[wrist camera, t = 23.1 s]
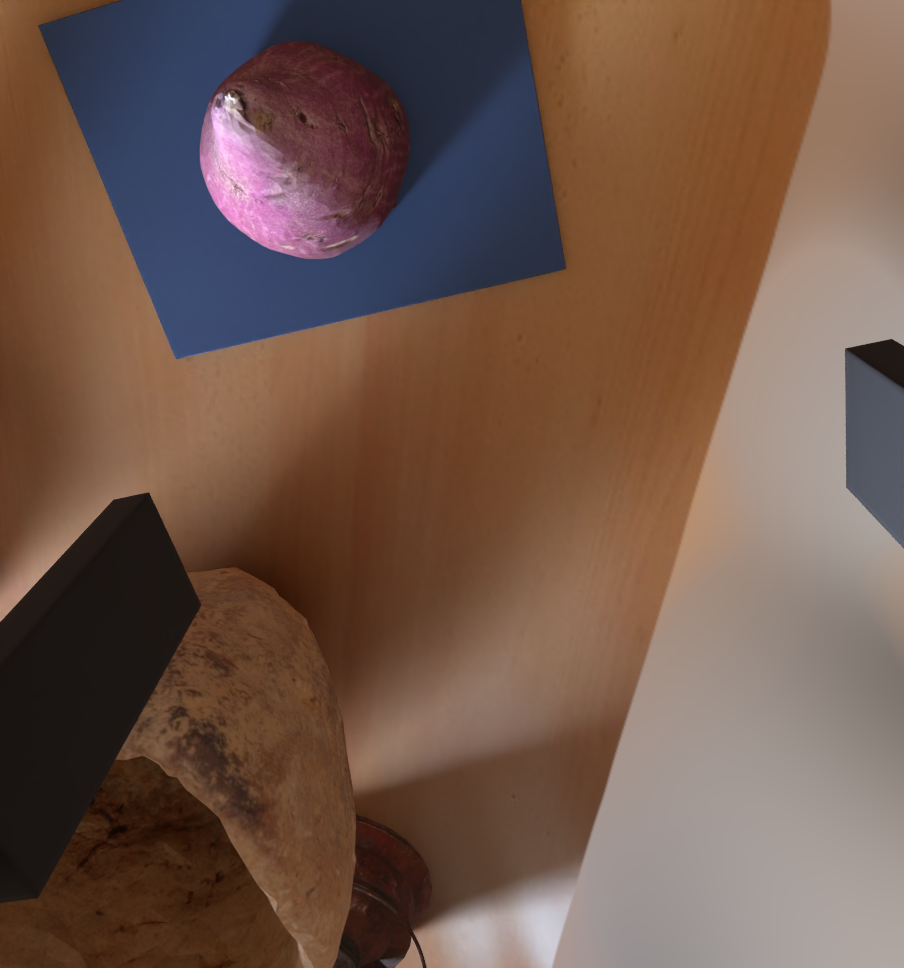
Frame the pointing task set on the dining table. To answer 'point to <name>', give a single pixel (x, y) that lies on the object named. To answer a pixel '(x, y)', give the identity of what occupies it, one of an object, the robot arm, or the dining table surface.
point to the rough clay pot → (211, 811)
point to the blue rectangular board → (423, 194)
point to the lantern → (383, 899)
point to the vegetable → (305, 150)
